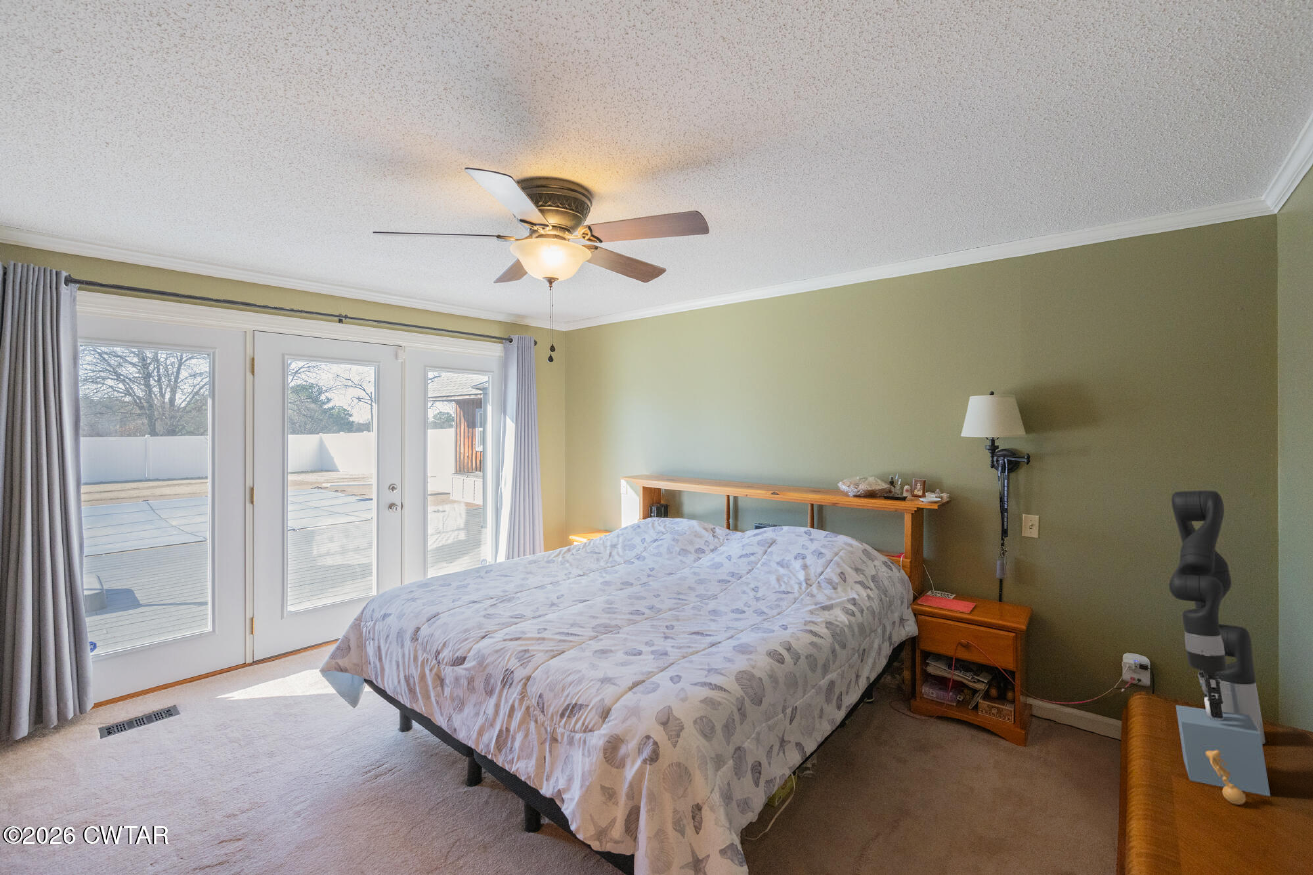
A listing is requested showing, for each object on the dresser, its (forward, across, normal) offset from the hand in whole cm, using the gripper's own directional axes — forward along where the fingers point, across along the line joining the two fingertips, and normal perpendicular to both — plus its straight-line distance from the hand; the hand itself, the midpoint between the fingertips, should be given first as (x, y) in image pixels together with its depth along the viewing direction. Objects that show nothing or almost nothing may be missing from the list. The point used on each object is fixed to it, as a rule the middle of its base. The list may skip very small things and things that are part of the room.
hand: (1214, 711), depth 149 cm
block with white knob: (+17, 0, 0) cm, 17 cm away
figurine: (+17, +14, -1) cm, 22 cm away
